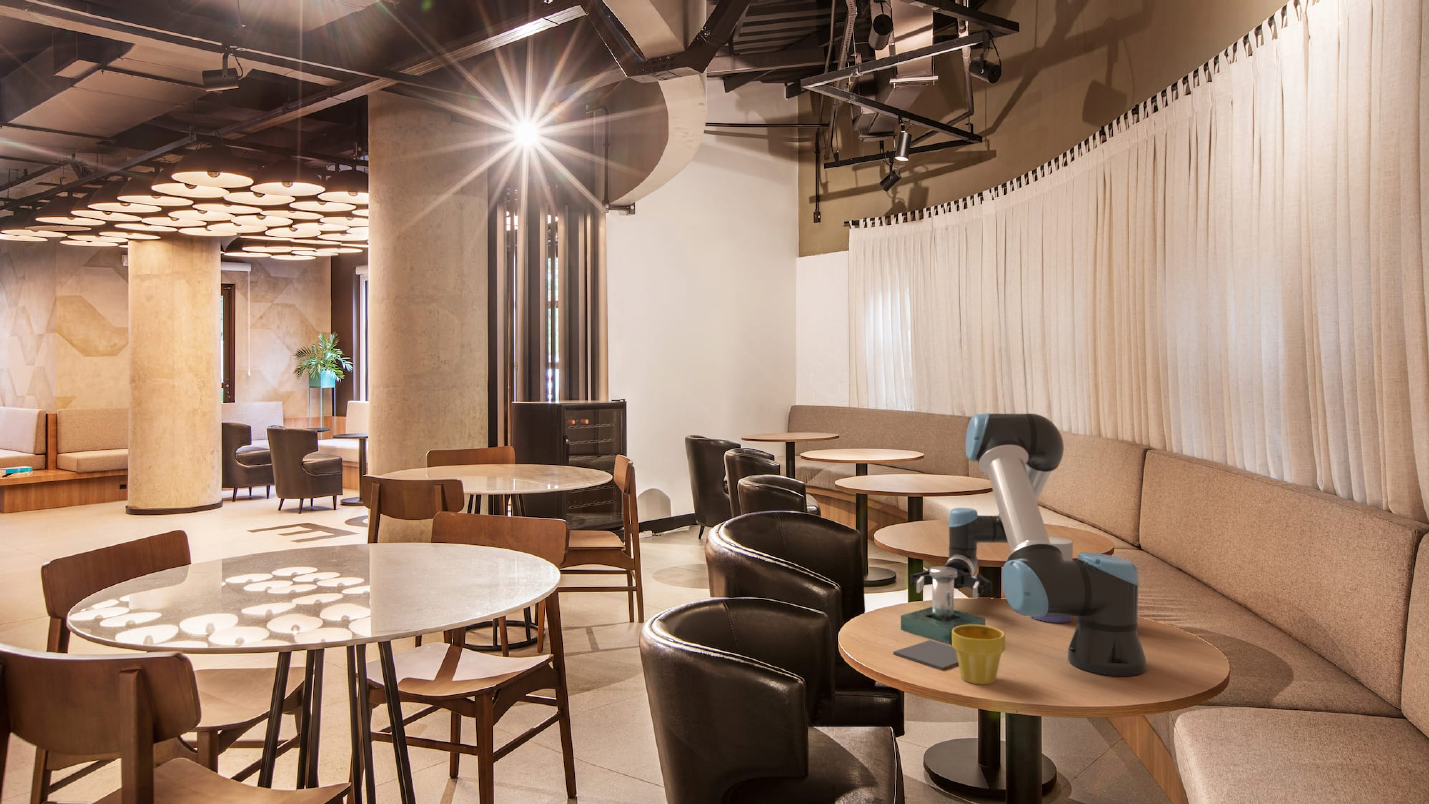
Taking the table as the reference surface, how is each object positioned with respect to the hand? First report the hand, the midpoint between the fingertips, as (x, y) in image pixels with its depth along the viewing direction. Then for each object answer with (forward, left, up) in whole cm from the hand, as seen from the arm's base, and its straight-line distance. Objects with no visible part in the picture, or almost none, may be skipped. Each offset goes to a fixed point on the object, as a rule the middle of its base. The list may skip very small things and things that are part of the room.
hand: (945, 590), depth 211 cm
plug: (-3, +6, -8) cm, 11 cm away
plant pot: (-27, +27, -9) cm, 39 cm away
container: (-13, -25, -9) cm, 30 cm away
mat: (-13, +22, -8) cm, 27 cm away
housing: (-3, +6, -8) cm, 10 cm away
